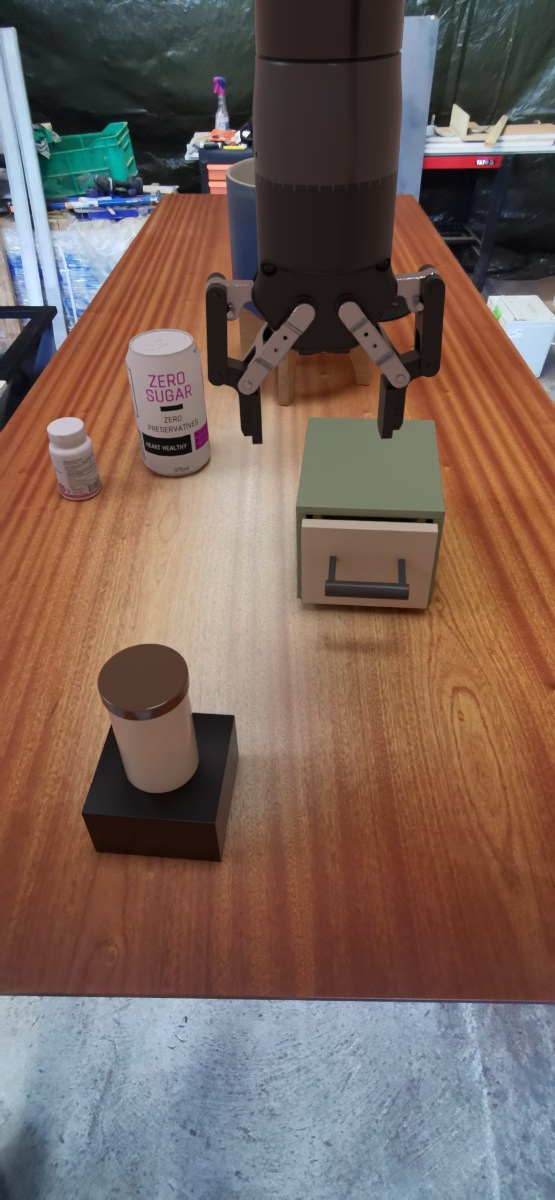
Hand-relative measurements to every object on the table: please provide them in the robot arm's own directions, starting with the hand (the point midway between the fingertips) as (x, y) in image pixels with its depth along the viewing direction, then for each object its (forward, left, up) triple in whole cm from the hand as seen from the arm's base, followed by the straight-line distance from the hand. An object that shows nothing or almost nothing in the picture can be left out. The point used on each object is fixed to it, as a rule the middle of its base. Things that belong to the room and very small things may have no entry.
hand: (321, 435), depth 49 cm
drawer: (-4, -12, -22) cm, 25 cm away
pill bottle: (+29, -26, -23) cm, 45 cm away
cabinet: (-4, -17, -23) cm, 28 cm away
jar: (+10, +14, -18) cm, 25 cm away
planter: (+5, -57, -23) cm, 61 cm away
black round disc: (-4, -84, -23) cm, 87 cm away
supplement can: (+19, -33, -23) cm, 44 cm away
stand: (+10, +14, -23) cm, 29 cm away
